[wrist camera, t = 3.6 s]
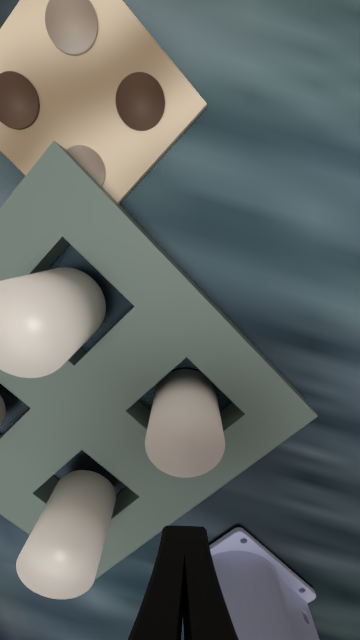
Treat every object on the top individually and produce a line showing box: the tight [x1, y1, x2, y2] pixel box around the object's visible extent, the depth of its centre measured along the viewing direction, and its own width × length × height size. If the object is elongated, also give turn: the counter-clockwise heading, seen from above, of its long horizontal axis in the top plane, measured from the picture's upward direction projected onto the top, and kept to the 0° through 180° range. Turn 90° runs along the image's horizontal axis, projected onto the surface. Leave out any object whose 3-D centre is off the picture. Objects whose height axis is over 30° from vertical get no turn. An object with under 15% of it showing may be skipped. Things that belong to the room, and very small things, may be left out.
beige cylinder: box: [145, 369, 225, 478], centre depth 17 cm, size 4×4×4 cm
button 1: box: [16, 470, 116, 599], centre depth 17 cm, size 4×4×4 cm
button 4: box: [0, 267, 106, 378], centre depth 13 cm, size 4×4×4 cm
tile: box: [0, 0, 207, 203], centre depth 14 cm, size 9×9×1 cm
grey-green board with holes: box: [0, 141, 318, 579], centre depth 18 cm, size 20×20×2 cm
